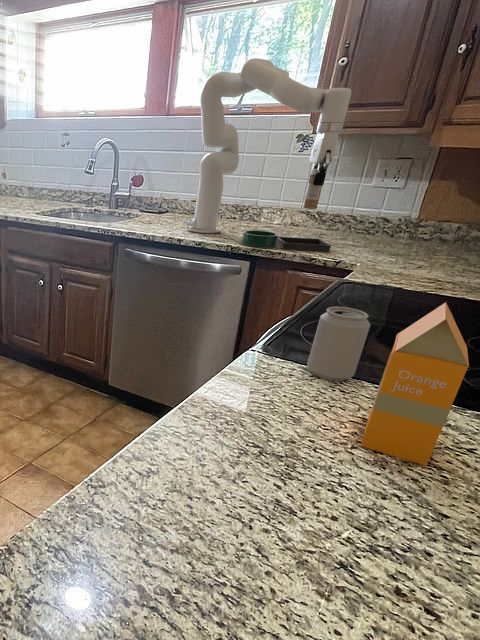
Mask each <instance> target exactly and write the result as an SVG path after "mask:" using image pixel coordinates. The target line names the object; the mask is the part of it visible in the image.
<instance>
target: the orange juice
mask: <svg viewBox="0 0 480 640" xmlns="http://www.w3.org/2000/svg"><path fill="white" fill-rule="evenodd" d="M468 368H470V363H469V353H468V346H467V344H466V342H465V340H464V338H463V336H462V333H461V331H460V329H459V327H458V325H457V323H456V320H455V318H454V316H453V314H452V312H451V310H450V308H449V305H448V303H447V301H445V302H443V303H442V304H441V305H439V306H438V307H436V308H435V309H434V310H432V311H430V312H429V313H427V314H426V315H424V316H423V317H421V318H420V319H418V320H417V321H415V322H413V323H412V324H410V325H409V326H408V327H406V328H405V329H403V330H401V331H400V332H397V334H396V336H395V340H394V344H393V346H392V349H391V352H390V354H389V356H388V360H387V363H386V365H385V368H384V369H383V374H382V377H381V379H380V382H379V385H378V389H377V392H376V395H375V397H374V401H373V403H372V407H371V408H370V412H369V416H368V418H367V421H366V424H365V428H364V432H363V436H362V439H361V443H360V447H361V448H366V449H369V450H373V451H376V452H380V453H382V454H385V455H389V456H393V457H396V458H399V459H402V460H406V461H409V462H413V463H416V464H419V465H422V466H427V465H428V463H429V461H430V458H431V457H432V453H433V451H434V450H435V447H436V444H437V442H438V439H439V437H440V435H441V432H442V430H443V428H444V427H445V424H446V421H447V419H448V416H449V415H450V412H451V409H452V406H453V403H454V401H455V399H456V396H457V394H458V392H459V389H460V388H461V385H462V382H463V380H464V377H465V375H466V372H467V371H468Z"/></svg>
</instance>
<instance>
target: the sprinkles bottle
mask: <svg viewBox="0 0 480 640" xmlns="http://www.w3.org/2000/svg"><path fill="white" fill-rule="evenodd" d="M311 170H312V171H311ZM311 170H310V175H311V178H310V177H309V179H310V182H309V181H308V186H307V191H306V194H305V198H304V204H303V207H302V208H303V209H307V210H317V209H318V205H319V200H320V197H321V194H322V188H323V185H313V182H314V178H315V174H316V173H317V170H318V169H312V168H311Z"/></svg>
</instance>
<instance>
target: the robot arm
mask: <svg viewBox="0 0 480 640" xmlns="http://www.w3.org/2000/svg"><path fill="white" fill-rule="evenodd" d="M255 90H258V91H260V92H262V93H264V94H266V95H269V96H270V97H271V98H272V99H274V100H275V101H277V102H279V103H280V104H282V105H284V106H286V107H288V108H290V109H292V110H294V111H296V112H300V113H320V115H319V118H318V123H317V127H316V132H315V133H316V136H315V139H314V142H313V145H312V149H311V153H310V156H309V160H308V161H309V163H310V164H312V167H311V170H310V172H311V171H312V169H318V170H317V173H316V174H315V178H314V182H313V185H322V186H324V185H325V180H326V177H327V173H328V169H329V167H330V164H332V163H333V161H334V157H335V153H336V149H337V144H338V138H339V134H342V131H343V127H344V124H345V120H346V116H347V112H348V108H349V104H350V101H351V96H352V89H351V88H349V87H333V88H331V87H330V88H329V89H326V88H318V87H309V86H307V85H305V84H303V83H301V82H298V81H296V80H294V79H292V78H291V77H290V73H289V71H287V70H285V69H282V68H280V67H278V66H276V65H275V64H274V63H273V62H272V61H271V60H269V59H264V58H258V57H255V58H250V59H248V60H246V61H245V62H244V63H243V64H242V66H241V68H240V71H239V72H230V71H219V72H215V73H214V74H212V75H210V76H208V78H206V80H205V81H204V83H203V84H202V87H201V90H200V93H199V105H200V114H201V117H200V118H201V119H200V120H201V121H200V122H201V140H202V144H203V146H204V147H205V148H207V149H215V151H211V152H208V153H207V154H205V155H204V156H203V157H202V159H201V160H200V164H199V184H198V190H197V197H196V203H195V209H194V215H193V218H192V219H190V220H187V219H186V220H185V219H183V220H181V225H182V226H188V231H190V232H193V233H198V234H217V233H220V230H221V229H220V228H219V227H217V225H218V219H219V213H220V208H221V202H222V198H223V193H224V176H229V175H232V174H234V172H236V170H237V168H238V166H239V160H240V155H239V154H240V153H239V152H240V151H239V135H238V134H239V133H238V130H237V129H236V127H235V126H234V125H233V124H232V123H227V122H226V120H225V108H224V104H223V101H222V98H237V97H240V96H242V95H245V94H248V93H250V92H253V91H255ZM310 178H311V174H310V175H309V178H308V183H309V182H310Z"/></svg>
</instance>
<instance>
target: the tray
mask: <svg viewBox="0 0 480 640" xmlns="http://www.w3.org/2000/svg"><path fill="white" fill-rule="evenodd" d="M276 246H278V247H280V249H282V250H283V251H297V252H316V253H330V250H331V246H332V245H331V244H330V243H328V242H326V241H324V240H323V239H321V238H309V237H308V238H307V237H290V236H289V237H288V236H278V238H277V242H276Z"/></svg>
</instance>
